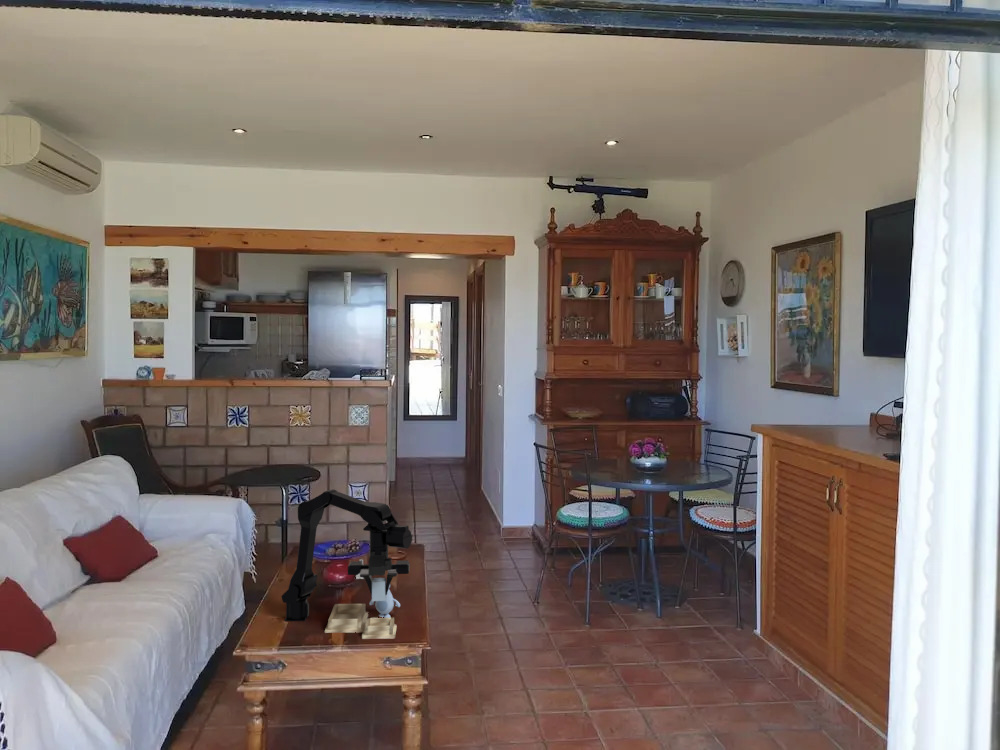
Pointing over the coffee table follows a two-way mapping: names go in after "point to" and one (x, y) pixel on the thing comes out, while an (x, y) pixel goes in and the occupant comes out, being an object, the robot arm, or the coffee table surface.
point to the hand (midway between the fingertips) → (379, 594)
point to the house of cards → (360, 572)
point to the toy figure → (385, 605)
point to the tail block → (378, 589)
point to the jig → (359, 622)
